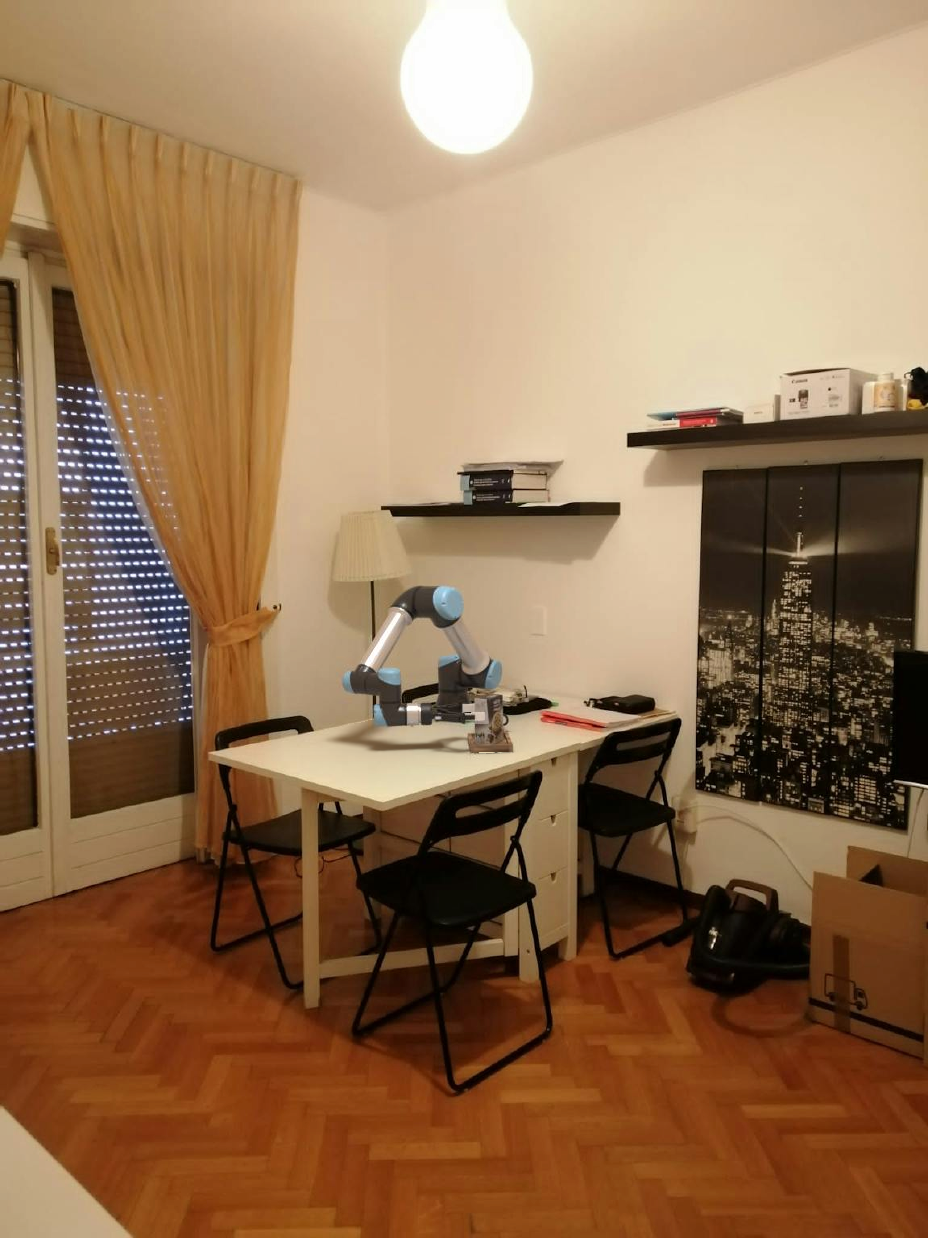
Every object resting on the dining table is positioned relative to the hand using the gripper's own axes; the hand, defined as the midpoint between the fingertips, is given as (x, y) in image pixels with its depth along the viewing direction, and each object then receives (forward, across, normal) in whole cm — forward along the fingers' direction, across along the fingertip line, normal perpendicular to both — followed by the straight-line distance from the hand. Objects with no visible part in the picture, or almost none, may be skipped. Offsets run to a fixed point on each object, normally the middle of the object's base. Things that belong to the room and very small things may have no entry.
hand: (483, 711), depth 305 cm
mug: (+5, -21, -12) cm, 25 cm away
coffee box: (+2, 0, -11) cm, 11 cm away
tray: (+2, 0, -12) cm, 12 cm away
